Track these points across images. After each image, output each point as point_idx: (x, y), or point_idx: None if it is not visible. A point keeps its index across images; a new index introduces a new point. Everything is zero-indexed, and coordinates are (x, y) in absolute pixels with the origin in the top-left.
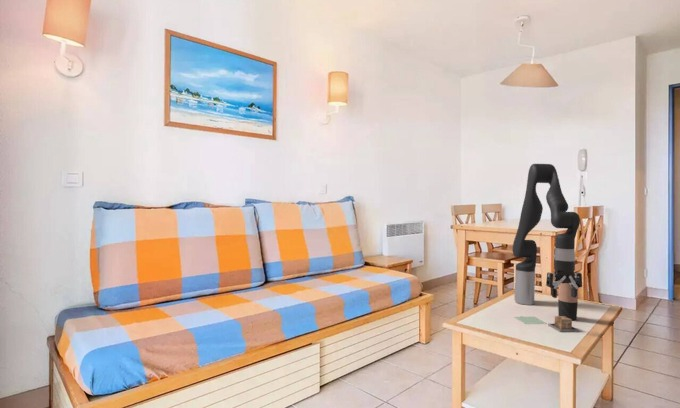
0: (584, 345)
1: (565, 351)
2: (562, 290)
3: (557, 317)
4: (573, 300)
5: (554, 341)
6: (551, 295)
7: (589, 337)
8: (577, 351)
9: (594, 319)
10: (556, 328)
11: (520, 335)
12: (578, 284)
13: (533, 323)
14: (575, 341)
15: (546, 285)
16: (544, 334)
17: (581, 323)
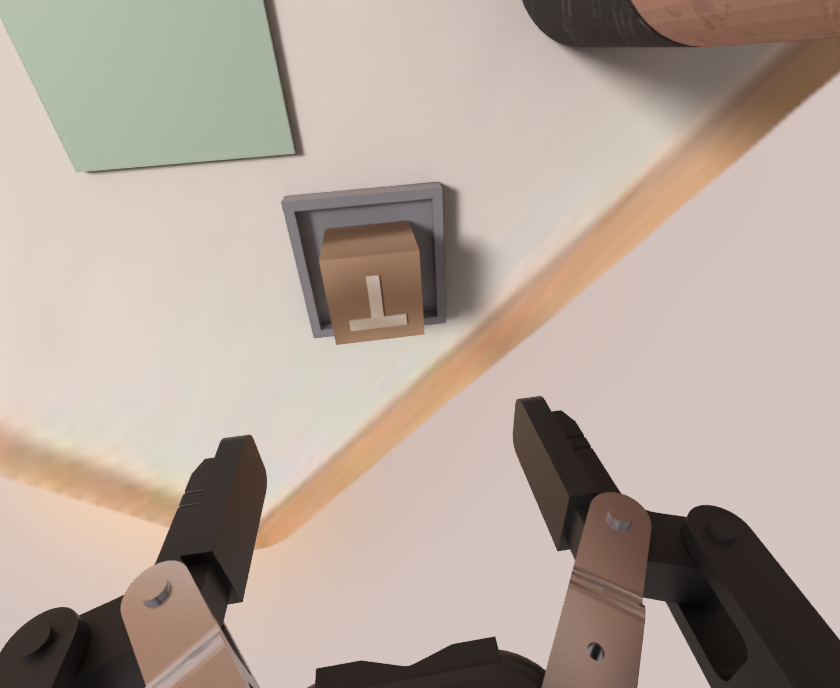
0: (359, 464)
1: None
2: None
3: (328, 294)
4: (734, 43)
5: None
6: (203, 466)
7: (455, 376)
8: (291, 516)
9: None
10: (306, 302)
11: (27, 388)
12: (688, 599)
13: (159, 151)
14: (342, 430)
15: (16, 640)
16: (199, 358)
17: (618, 102)
